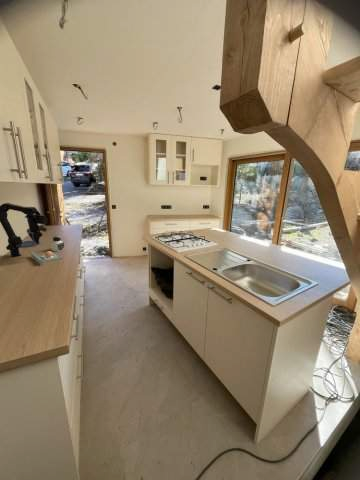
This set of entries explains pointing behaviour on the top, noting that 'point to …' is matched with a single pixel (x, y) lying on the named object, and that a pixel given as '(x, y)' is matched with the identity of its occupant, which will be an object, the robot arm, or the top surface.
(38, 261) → the gray wall
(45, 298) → the top surface
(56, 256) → the resting mat
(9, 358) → the top surface
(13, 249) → the robot arm
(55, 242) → the medicine bottle
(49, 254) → the ball
